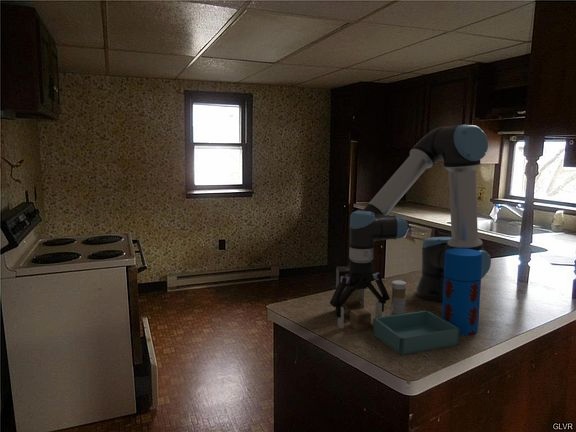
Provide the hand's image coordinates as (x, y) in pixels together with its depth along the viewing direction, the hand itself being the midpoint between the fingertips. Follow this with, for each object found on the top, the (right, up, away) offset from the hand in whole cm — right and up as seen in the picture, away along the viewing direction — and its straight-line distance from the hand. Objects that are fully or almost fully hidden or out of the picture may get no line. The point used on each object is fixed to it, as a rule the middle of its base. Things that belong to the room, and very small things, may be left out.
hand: (359, 323), depth 139 cm
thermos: (+31, -1, -2) cm, 32 cm away
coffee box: (-2, +1, +12) cm, 12 cm away
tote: (+15, -2, -10) cm, 18 cm away
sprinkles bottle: (+13, 0, +5) cm, 14 cm away
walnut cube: (0, -1, 0) cm, 1 cm away
